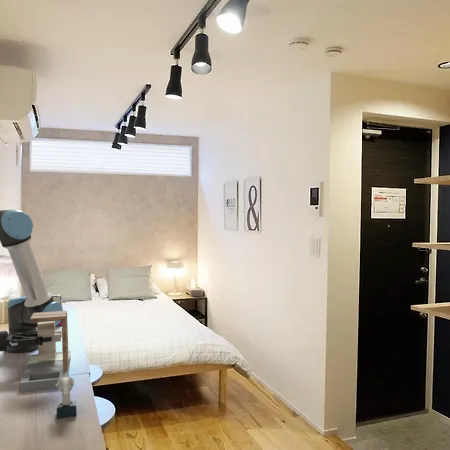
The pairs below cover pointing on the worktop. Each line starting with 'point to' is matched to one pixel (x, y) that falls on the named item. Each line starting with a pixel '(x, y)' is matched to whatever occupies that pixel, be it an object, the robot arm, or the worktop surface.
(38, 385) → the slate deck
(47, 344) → the cream block
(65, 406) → the watch
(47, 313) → the walnut tunnel
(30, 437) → the worktop surface
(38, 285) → the robot arm
